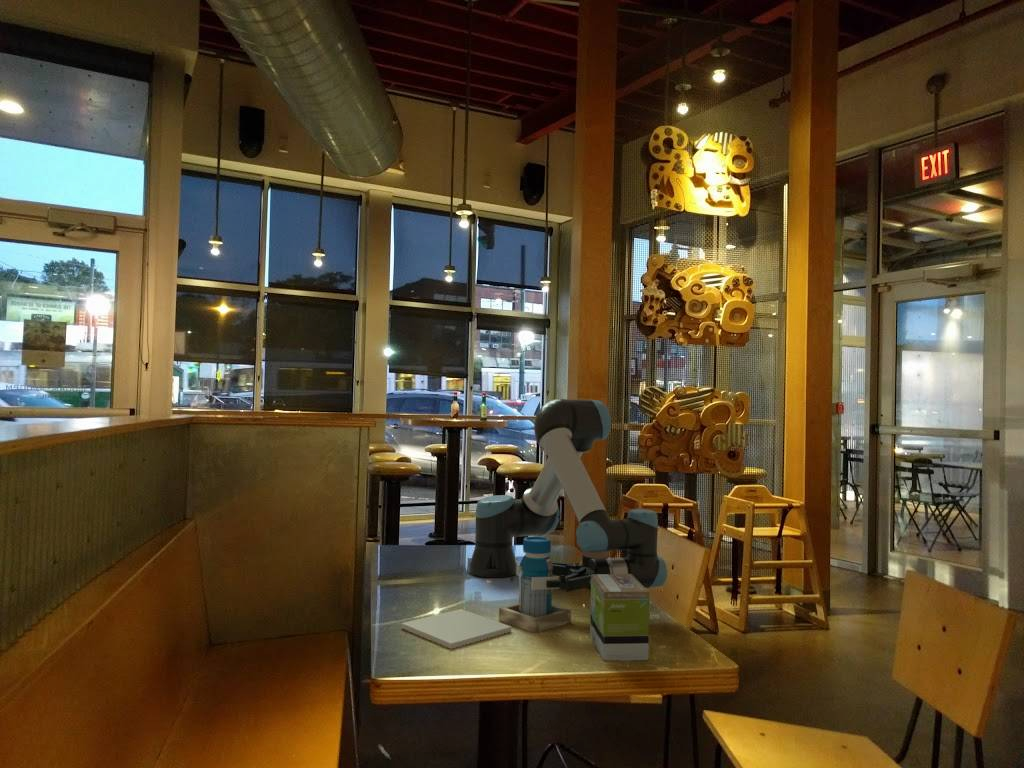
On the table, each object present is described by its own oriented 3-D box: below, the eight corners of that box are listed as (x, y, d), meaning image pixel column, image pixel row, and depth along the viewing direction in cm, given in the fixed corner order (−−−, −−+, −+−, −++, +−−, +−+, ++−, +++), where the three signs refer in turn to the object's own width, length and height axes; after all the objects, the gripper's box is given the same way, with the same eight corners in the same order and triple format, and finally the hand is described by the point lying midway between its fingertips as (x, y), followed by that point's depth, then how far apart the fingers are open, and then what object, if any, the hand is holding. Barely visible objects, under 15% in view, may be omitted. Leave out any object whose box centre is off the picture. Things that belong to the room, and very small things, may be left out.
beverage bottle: (528, 628, 167) (530, 543, 168) (511, 618, 175) (513, 536, 175) (558, 624, 171) (560, 540, 172) (541, 614, 178) (543, 534, 179)
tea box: (588, 637, 162) (590, 572, 162) (631, 637, 163) (633, 572, 163) (602, 661, 147) (604, 589, 147) (649, 661, 148) (651, 590, 148)
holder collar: (498, 620, 173) (499, 607, 173) (534, 610, 182) (534, 599, 182) (535, 633, 164) (536, 619, 164) (570, 622, 173) (571, 610, 173)
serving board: (401, 628, 165) (401, 623, 165) (460, 613, 177) (460, 609, 177) (451, 649, 152) (451, 643, 152) (511, 631, 164) (511, 626, 164)
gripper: (626, 602, 165) (538, 606, 160) (587, 576, 190) (510, 579, 184) (626, 570, 166) (539, 573, 160) (588, 548, 190) (511, 550, 184)
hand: (524, 576), depth 172 cm, fingers open, 13 cm apart
